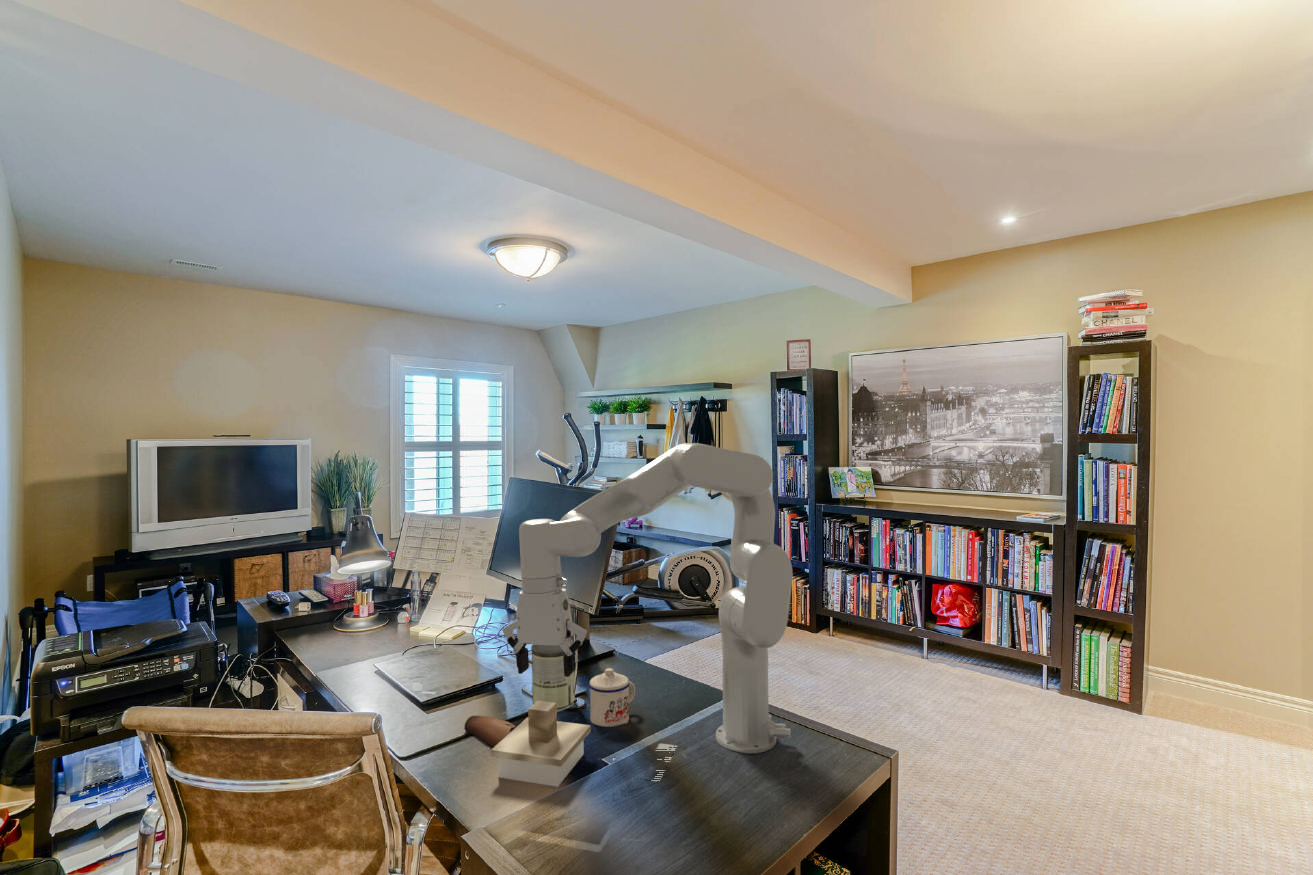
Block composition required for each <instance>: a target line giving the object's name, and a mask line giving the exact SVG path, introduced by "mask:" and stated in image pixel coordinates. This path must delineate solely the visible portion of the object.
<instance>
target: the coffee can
mask: <svg viewBox="0 0 1313 875" xmlns="http://www.w3.org/2000/svg"><path fill="white" fill-rule="evenodd" d="M530 648H531V649H530V650H531V661H532V662H531V671H532V672H531V673H532V676H531V677H532V680H531V681H532V682H531V683H532V686H531V689H532V704H535V703H536V702H537V701H546V702H555V703H557V713H560V712H563V711H565V710H566V709H569V708H571V707H572V706H573V705H574V704H575V703H574V701H575V702H576V697H575V696H576V694H575V693H576V690H575V689H576V687H575V685H576V684H575V682H576V681H575V671H574V672H573V673H572V674H571V675H570V676H569V677H565V676H564V661H563V657H564V655H566V653H565V652H564V651H563V650H562V648H561V647H560V646H559V645H534V644H531V647H530Z"/></svg>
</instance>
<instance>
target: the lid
mask: <svg viewBox="0 0 1313 875" xmlns="http://www.w3.org/2000/svg"><path fill="white" fill-rule="evenodd" d="M532 704H533V703H532ZM532 704H531V706H530V707H529V708H528V712H527V713H528V717H526V718H525V719H524V720H523V721H521V723H519V724H518V725H517V726H516V727H515V729H514V730H513V731H512V732H511V733H509V734H508V735H507V736H506V737H505V738H504V739H503V740H502V741H501V742H499V743H498V744H497V745H496V746H495V747H494V748H491V753H490V755H491V756H490V757H492V758H498V757H499V758H506V759H512V760H519V761H526V762H532V763H539V764H546V765H552V766H559V767H561V766H562V765H563V764H564V762H565V761H566V760H567V759H568V758H569V757H570V755H571V754H572V753H573V752H574V751H575V749H576V748H577V747H578V746H579V745H580V744H581V742H582V741H583V740H584V741H585V739H586V737H588V735H589V734H590V733H591V730H592V726H591V725H589V724H583V723H577V722H575V723H574V722H565V721H561V720H560V721H558V716H557V715H558V712H557V703H555V702H546V701H537V702H536V703H535V704H533V705H532Z"/></svg>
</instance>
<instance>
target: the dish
mask: <svg viewBox="0 0 1313 875" xmlns="http://www.w3.org/2000/svg"><path fill="white" fill-rule="evenodd" d="M584 741H585V739H584V740H583V741H582V742H581V744H580V745H579V746H578V747H577V748H576V749H575V751H574V752H573V753H572V754H571V755H570V757H569V758H568V759H567V760H566V761H565V762H564V764H563V765H562V766H561V767H559V766H552V765H546V764H539V763H532V762H526V761H519V760H512V759H506V758H499V757H497V759H498V760H497V761H498V763H497V764H498V765H497V766H498V767H497V769H498V772H497V776H498V778H499V779H506V780H513V781H518V782H525V783H531V784H538V785H545V786H549V787H550V786H551V787H557V788H558V787H559V786H560V785H561V783H562V782H564V780H565V778H566V777H567V776H568V775H569V773H571V771H572V770H573V768H574V767H575V766H576V765H577V764H578V762H579V761H580V760H581V759H582V757H583V756H584V754H585V752H584V751H585V750H584V748H585V746H584V745H585V744H584Z"/></svg>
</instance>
